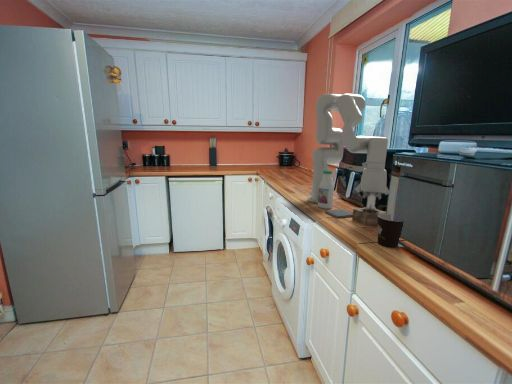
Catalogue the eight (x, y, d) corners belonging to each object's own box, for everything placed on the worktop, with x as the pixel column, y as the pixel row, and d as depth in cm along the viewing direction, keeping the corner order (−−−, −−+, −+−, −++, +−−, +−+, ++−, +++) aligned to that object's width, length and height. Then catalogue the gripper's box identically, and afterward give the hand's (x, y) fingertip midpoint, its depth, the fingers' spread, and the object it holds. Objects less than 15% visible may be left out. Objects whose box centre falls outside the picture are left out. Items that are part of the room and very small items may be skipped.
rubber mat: (325, 212, 130) (325, 210, 130) (341, 211, 133) (341, 209, 133) (337, 218, 121) (337, 216, 121) (354, 216, 124) (355, 214, 124)
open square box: (352, 219, 120) (353, 208, 119) (369, 217, 123) (370, 207, 122) (368, 225, 111) (369, 214, 110) (386, 223, 114) (387, 213, 113)
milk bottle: (327, 205, 145) (329, 169, 141) (335, 208, 138) (338, 171, 134) (314, 205, 143) (317, 169, 139) (322, 209, 136) (325, 171, 132)
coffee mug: (402, 251, 86) (406, 222, 84) (374, 246, 90) (377, 218, 87) (399, 239, 96) (403, 213, 94) (374, 235, 100) (377, 210, 98)
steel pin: (361, 219, 118) (364, 191, 115) (367, 217, 120) (371, 190, 117) (369, 221, 114) (372, 193, 112) (376, 220, 116) (379, 192, 114)
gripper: (355, 165, 111) (350, 206, 115) (398, 168, 106) (392, 210, 110) (353, 164, 118) (349, 202, 122) (394, 166, 113) (389, 206, 117)
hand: (370, 206), depth 116 cm, fingers closed on steel pin, 4 cm apart
